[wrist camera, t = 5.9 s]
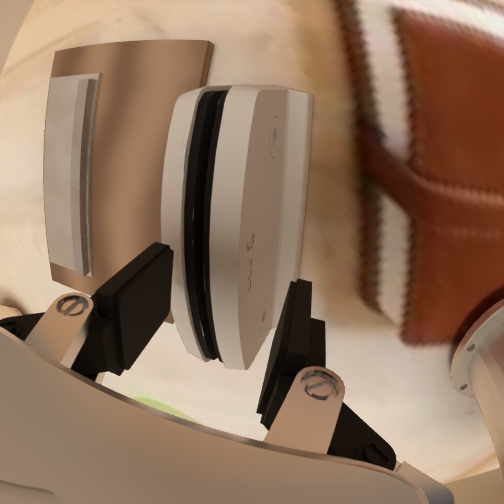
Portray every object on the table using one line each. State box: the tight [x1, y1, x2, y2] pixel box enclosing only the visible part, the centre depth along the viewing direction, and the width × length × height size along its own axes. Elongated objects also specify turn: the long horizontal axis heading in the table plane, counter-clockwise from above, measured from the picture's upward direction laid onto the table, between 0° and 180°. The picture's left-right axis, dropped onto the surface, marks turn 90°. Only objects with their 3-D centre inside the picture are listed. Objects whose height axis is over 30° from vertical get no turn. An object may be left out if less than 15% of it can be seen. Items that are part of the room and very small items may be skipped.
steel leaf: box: [44, 73, 102, 277], centre depth 21 cm, size 6×17×1 cm, turn 169°
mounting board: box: [43, 40, 214, 324], centre depth 21 cm, size 14×22×1 cm, turn 169°
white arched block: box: [161, 85, 313, 370], centre depth 17 cm, size 17×5×10 cm, turn 178°
